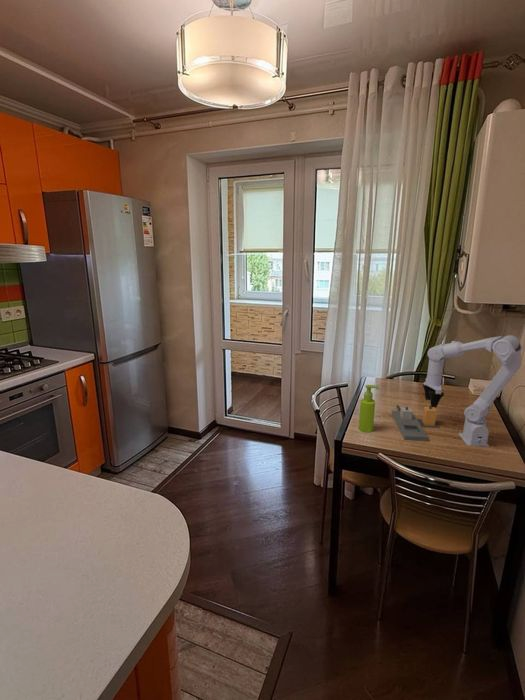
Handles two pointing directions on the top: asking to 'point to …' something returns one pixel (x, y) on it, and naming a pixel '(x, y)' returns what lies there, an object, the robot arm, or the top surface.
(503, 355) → the robot arm
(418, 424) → the grey panel with knob
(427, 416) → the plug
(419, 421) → the mat
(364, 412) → the soap dispenser
